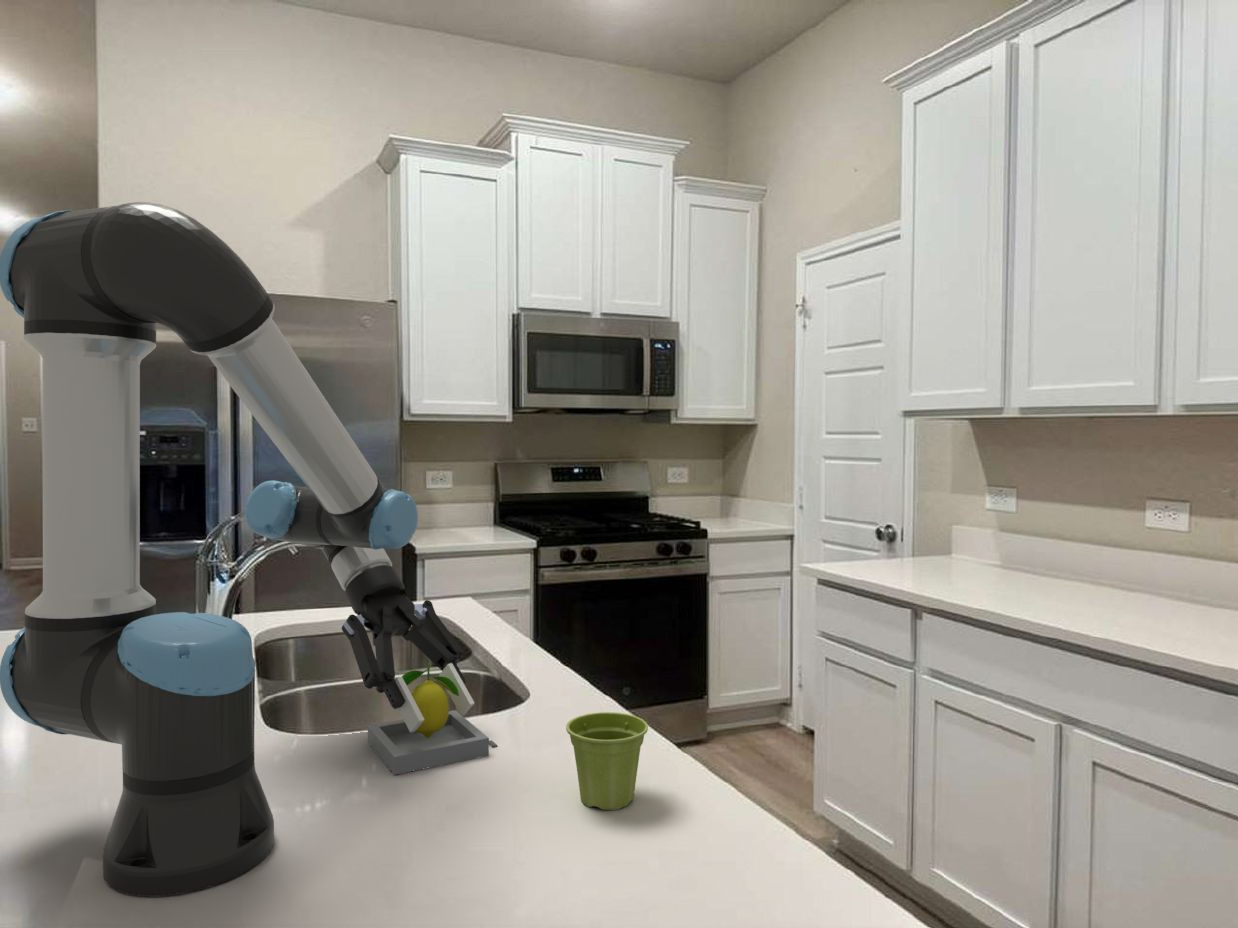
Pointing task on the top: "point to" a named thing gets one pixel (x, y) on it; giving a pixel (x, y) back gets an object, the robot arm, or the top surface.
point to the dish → (427, 744)
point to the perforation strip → (492, 743)
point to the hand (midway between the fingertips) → (443, 717)
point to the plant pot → (607, 756)
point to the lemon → (431, 700)
